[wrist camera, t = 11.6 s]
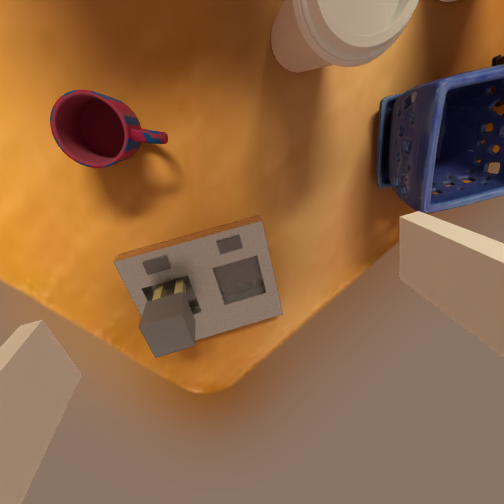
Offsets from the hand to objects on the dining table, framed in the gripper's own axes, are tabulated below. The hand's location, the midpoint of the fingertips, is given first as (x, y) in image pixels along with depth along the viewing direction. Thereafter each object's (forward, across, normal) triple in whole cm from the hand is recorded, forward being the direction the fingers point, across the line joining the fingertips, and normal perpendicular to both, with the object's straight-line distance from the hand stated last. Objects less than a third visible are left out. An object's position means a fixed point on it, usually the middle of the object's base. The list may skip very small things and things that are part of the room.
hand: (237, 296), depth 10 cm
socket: (+29, -5, -15) cm, 33 cm away
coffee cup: (+29, +14, +12) cm, 34 cm away
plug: (+28, -10, -15) cm, 34 cm away
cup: (+29, -8, +7) cm, 31 cm away
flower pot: (+29, +28, -2) cm, 40 cm away
